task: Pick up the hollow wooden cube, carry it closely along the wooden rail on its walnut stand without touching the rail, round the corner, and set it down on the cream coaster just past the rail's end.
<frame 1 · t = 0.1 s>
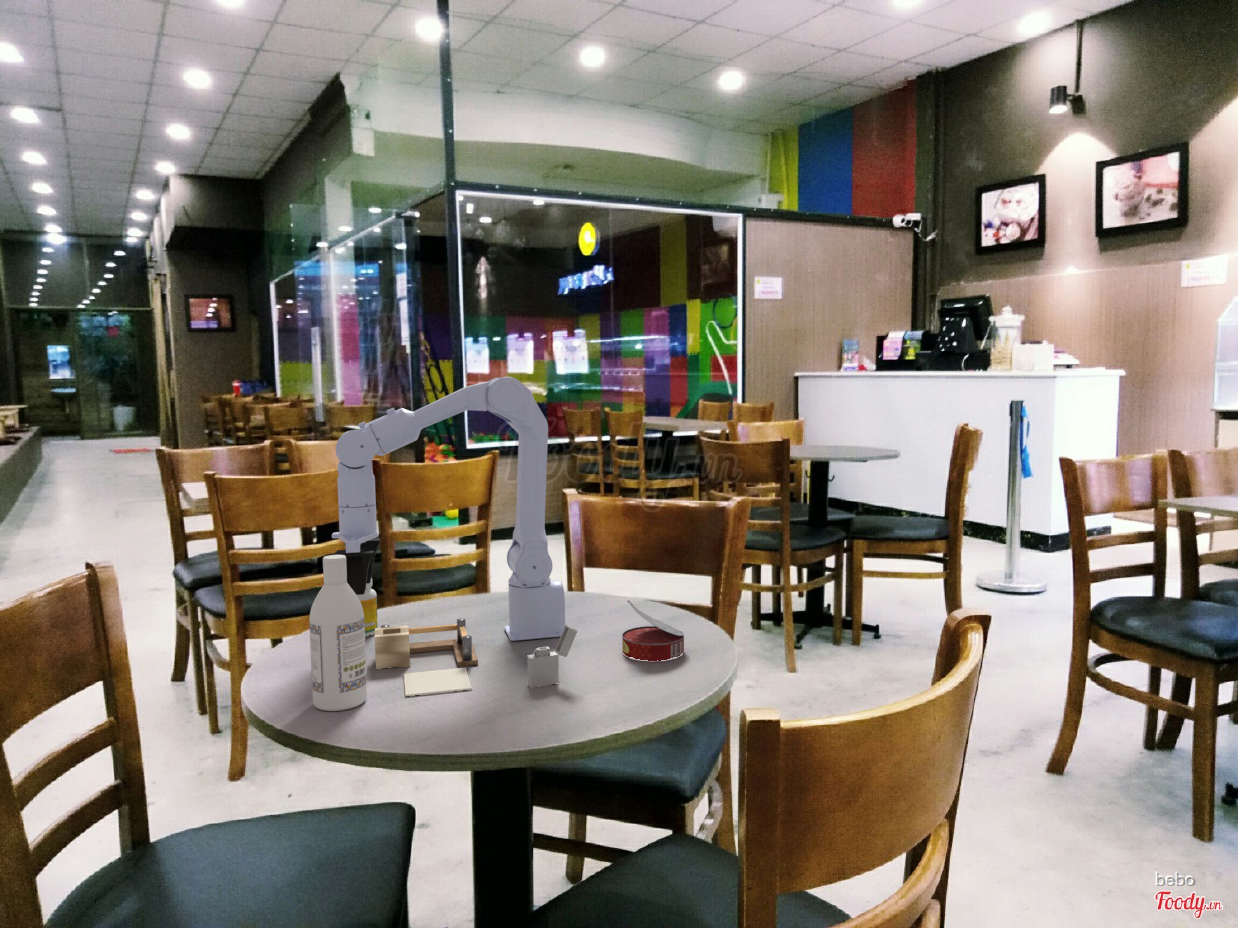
hand: (360, 588, 135), 10 cm above the table, tool pointing down, fingers open, 7 cm apart
canned food: (653, 654, 133), on the table
supplement bottle: (361, 634, 145), on the table
lighter: (553, 684, 119), on the table
wooden rail: (461, 645, 137), on the table
bath foam: (340, 704, 113), on the table
coaster: (436, 682, 120), on the table
hollow wooden cube: (392, 662, 129), on the table
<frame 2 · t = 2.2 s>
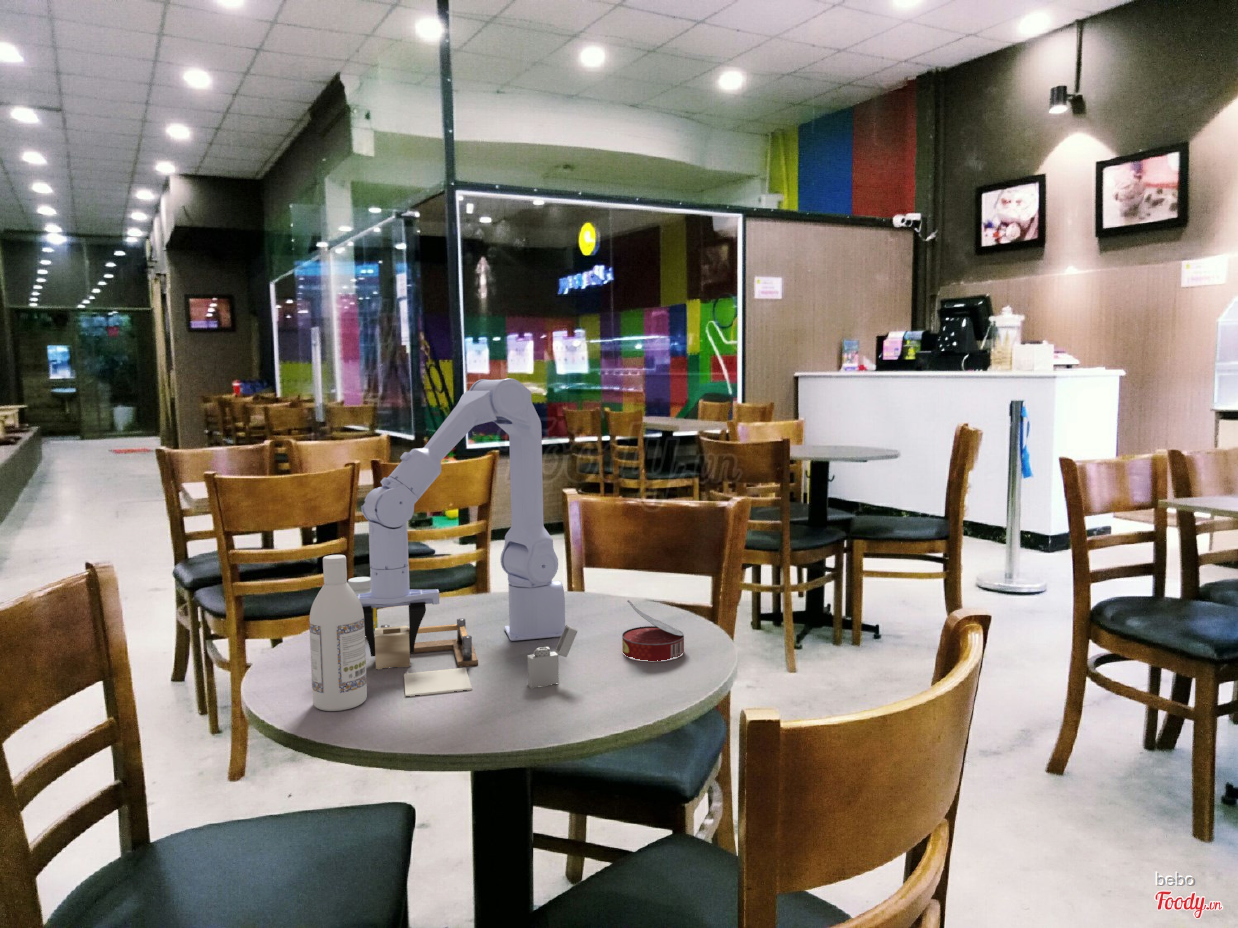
hand: (392, 652, 129), 2 cm above the table, tool pointing down, fingers closed on hollow wooden cube, 5 cm apart
hollow wooden cube: (392, 662, 129), on the table, touching gripper
everything else where it was.
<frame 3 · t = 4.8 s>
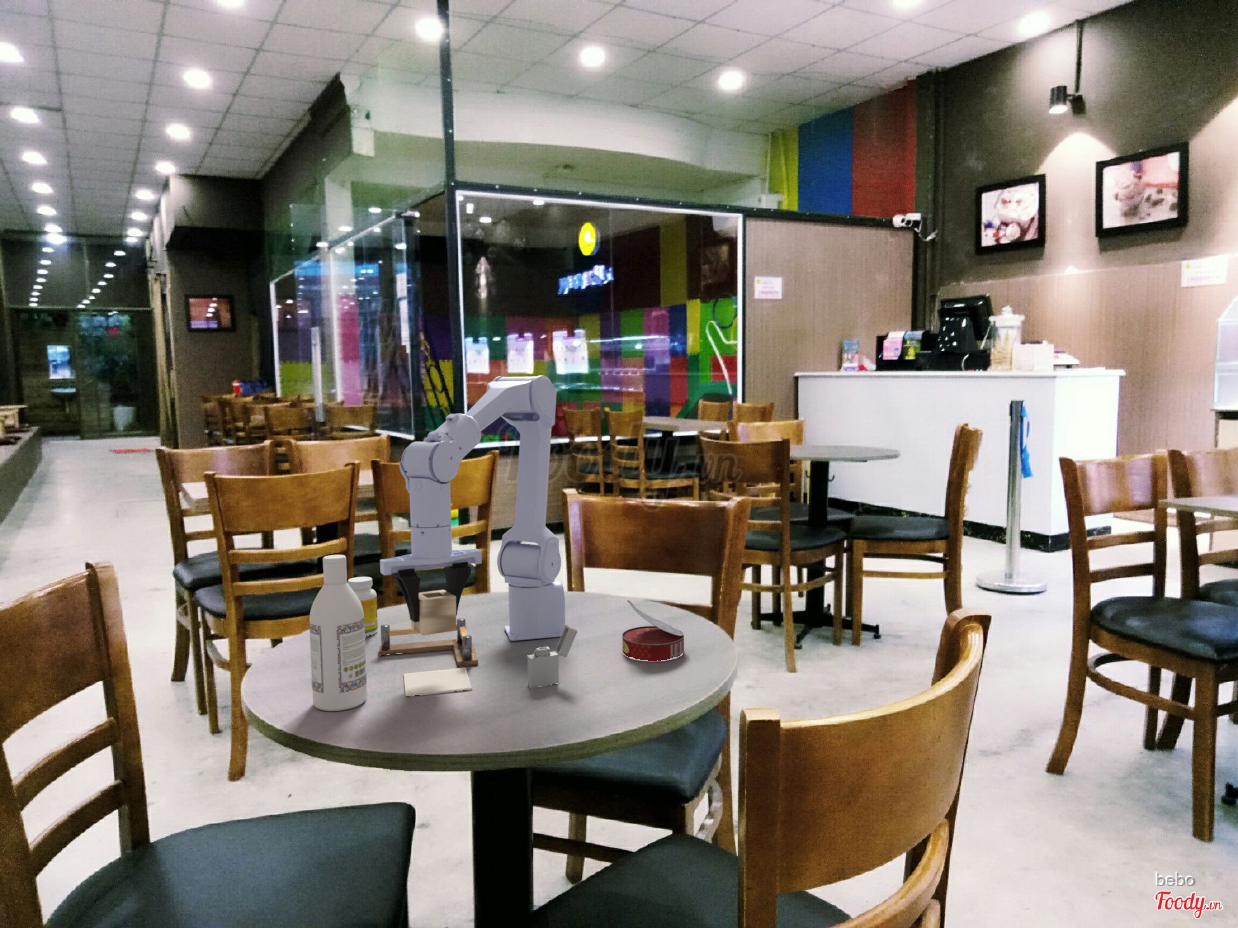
hand: (433, 617, 121), 9 cm above the table, tool pointing down, fingers closed on hollow wooden cube, 5 cm apart
hollow wooden cube: (433, 628, 121), point 7 cm above the table, touching gripper
everything else where it was.
when the fingers open (3 cm above the table, at t = 7.1 s): hollow wooden cube stays where it is, resting on coaster.
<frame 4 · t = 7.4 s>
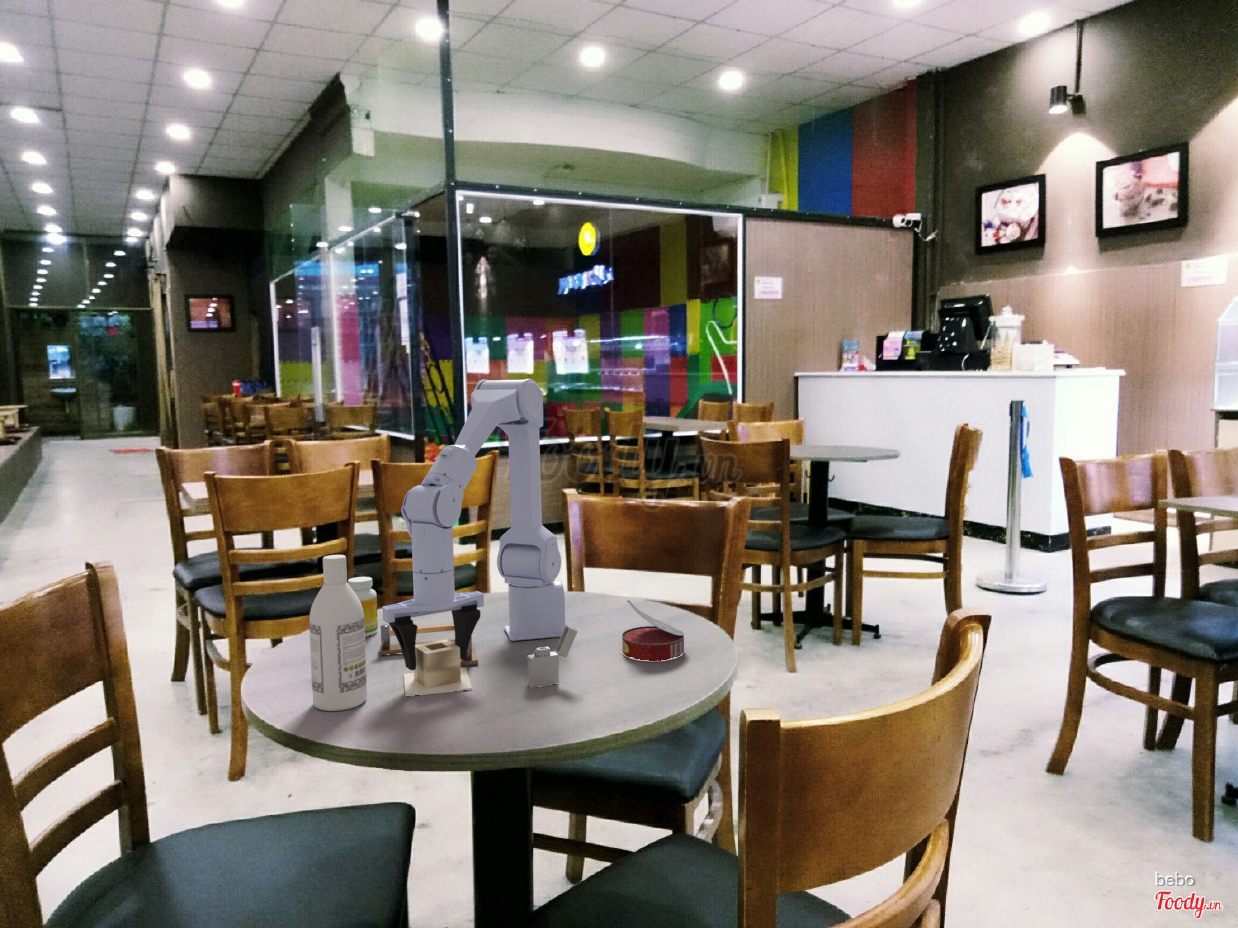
hand: (436, 662, 120), 3 cm above the table, tool pointing down, fingers open, 7 cm apart
hollow wooden cube: (437, 680, 120), resting on coaster
everything else where it was.
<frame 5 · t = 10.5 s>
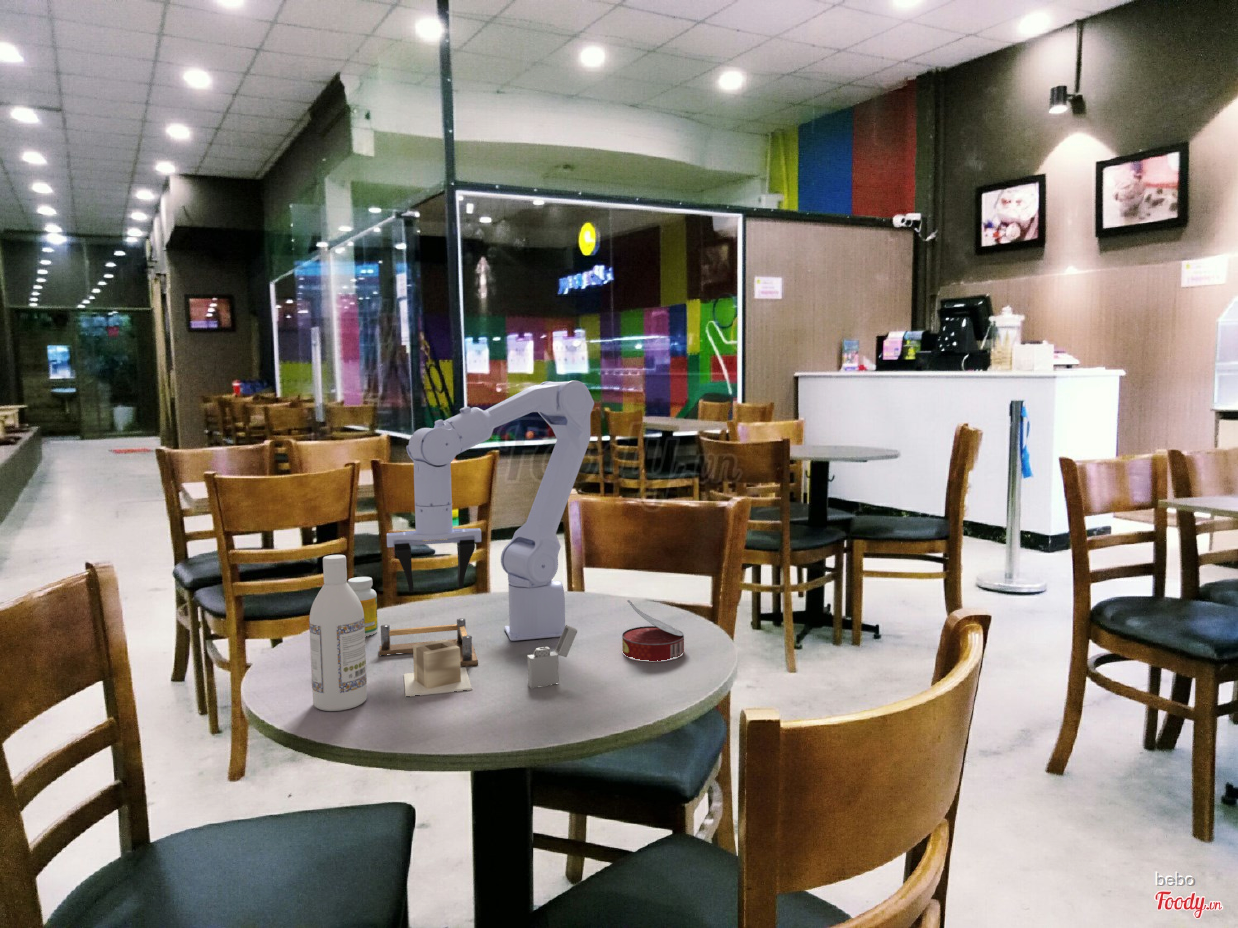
hand: (436, 588, 133), 10 cm above the table, tool pointing down, fingers open, 7 cm apart
nothing on the table moved.
at the end: hollow wooden cube inside the target area on the coaster (0.1 cm from its centre), point 0.3 cm above the coaster's base; hollow wooden cube tilted 0°; hollow wooden cube touching coaster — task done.
